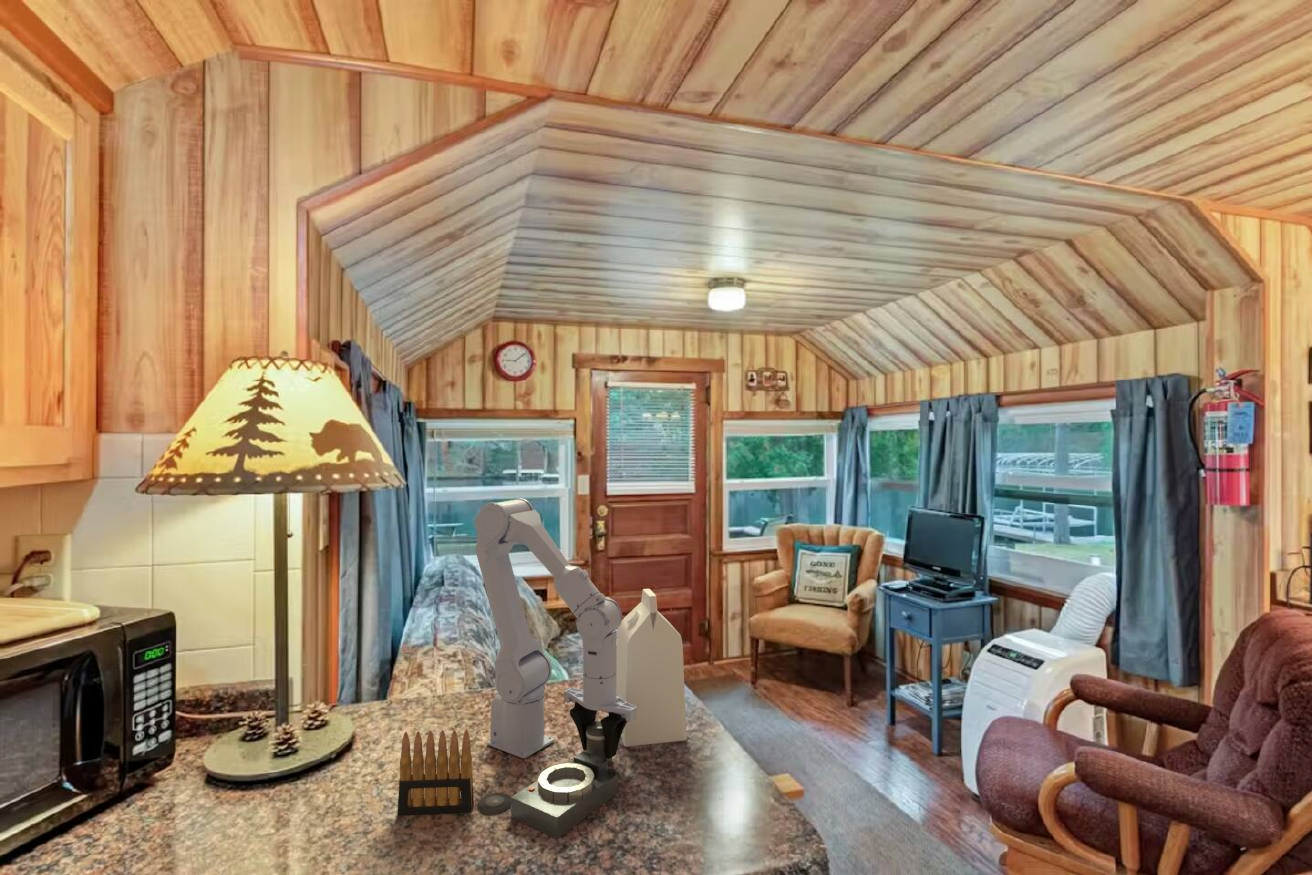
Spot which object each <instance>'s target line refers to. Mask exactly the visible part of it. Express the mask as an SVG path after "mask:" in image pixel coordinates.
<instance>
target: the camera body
mask: <svg viewBox="0 0 1312 875" xmlns="http://www.w3.org/2000/svg"><path fill="white" fill-rule="evenodd" d="M618 793H619V773H617V772H614V771H612V770H609V766H608V760H607V759H604V758H601V757H598V756H596V755H593V754H590V753H587V751H585V750H583V751H581V752H580V753H578V754H577V755H576V756H573V758H571V759H570V760H568V761H567V762H563V763H559V764H556V765H552V766H550V767H548V768H546V769H544V770H543V771H541V773H540V775H539V776H538V779H537V780H536V781H534V782H533V783H532V784H530V785H528V786H527V787H525V788H523V789H522V790H520V791H518V792H517V793H516V794H513V795H512V796H510V797H511V806H510V818H511V819H513V820H515V821H518V822H520V823H521V824H524V825H526V826H528V827H530V828H533V829H535V830H536V831H539V832H541V833H543V834H545V835H548V836H550V837H552V838H553V839H556V840H558V839H560V837H562V836H563V835H564V834H566V833H567V832H569V831H570V830H571V829H572V828H574V827H575V826H576V825H578V824H579V823H580V822H581V821H583V820H584V819H585V818H587V817H588V816H590V815H591V814H592V813H593V812H595V811H596V810H597V809H599V808H600V807H602V806H603V805H604V804H605V803H607V802H608V801H609V800H611V799H612V798H614V797H615V796H616V795H617V794H618Z"/></svg>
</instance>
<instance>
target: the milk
mask: <svg viewBox="0 0 1312 875" xmlns="http://www.w3.org/2000/svg"><path fill="white" fill-rule="evenodd" d="M641 593H642V594H641V602H639V603H638V604H637V605H636V606H635V607H634V608H633V609H632V610H631V611H629V613H627V615H626V616H625V617H624V618H622V622H621V624H620V626H619V627H618V628H617V629H616V630H617V631H616V632H617V642H616V645H617V672H616V692H617V693H618V697H620V698H621V699H623V700H625V701H626V702H628V703H630V704H632V705H634V706H637V718H636V719H635V720H633V721H631V722H628V721H627V723H626V725H625V727H624V729H623V732H622V734H621V737H620V739H621V740H622V743H623V745H624V747H625V748H626V747H627V748H628V747H634V746H635V747H636V746H644V745H646V746H647V745H654V744H661V743H662V744H663V743H664V744H665V743H673V742H681V741H687V740H688V739H687V719H686V718H687V717H686V716H687V715H686V696H685V694H686V693H685V692H686V691H685V670H684V667H685V666H684V665H685V664H684V647H683V646H684V645H683V640H682V635H681V634H680V633H679V632H678V631H677V629H676V628H675V626H673V625H672V623H671V622H670V621H669V620H668V619H667V618H666V617H665V616H663V614H661V613H660V612H659V611H658V604H657V603H658V602H657V600H658V598H657V595H656V594H655V593H654V591H653V590H651V588H643V589H642V592H641Z"/></svg>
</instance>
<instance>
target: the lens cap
mask: <svg viewBox="0 0 1312 875" xmlns="http://www.w3.org/2000/svg"><path fill="white" fill-rule="evenodd" d="M511 797H512V796H510V795H509V794H507V793H504V792H493V793H488V794H486V795H484V796H483V797H481V798H480V799H479V800H478V802H477V809H478V812H480V813H482V814H484V815H498V814H501V813H503V812H506V811H507V810H509V809H511Z"/></svg>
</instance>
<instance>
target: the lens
mask: <svg viewBox="0 0 1312 875" xmlns="http://www.w3.org/2000/svg"><path fill="white" fill-rule="evenodd" d="M586 736H587V750H586V752H587V753H590V754H593V755H596V756H598V757H601V758H604V759H607V760H608V767H609V766H611V765H612V764H613V757H612V758H610V759H608V758H606V755H605V738H604V732H603V728H602V725H601V723H600V720H595V722H592V723H589V724H588V725H587V730H586Z"/></svg>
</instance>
